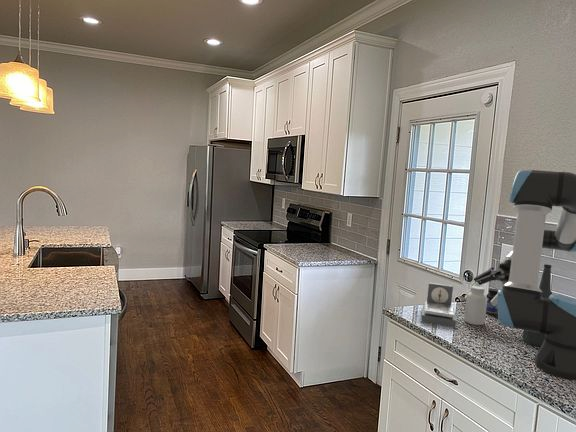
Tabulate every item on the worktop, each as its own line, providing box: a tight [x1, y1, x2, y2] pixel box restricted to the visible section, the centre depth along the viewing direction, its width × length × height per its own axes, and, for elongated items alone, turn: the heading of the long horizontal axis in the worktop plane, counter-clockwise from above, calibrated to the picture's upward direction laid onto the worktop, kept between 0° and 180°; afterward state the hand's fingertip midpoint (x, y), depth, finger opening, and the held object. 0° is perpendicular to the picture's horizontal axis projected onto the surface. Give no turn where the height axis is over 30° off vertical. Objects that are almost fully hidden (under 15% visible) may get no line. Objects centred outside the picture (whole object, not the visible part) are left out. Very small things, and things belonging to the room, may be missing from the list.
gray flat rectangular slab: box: [424, 301, 454, 318], centre depth 184 cm, size 14×11×1 cm
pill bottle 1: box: [463, 285, 487, 326], centre depth 183 cm, size 8×8×15 cm
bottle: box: [522, 264, 553, 348], centre depth 163 cm, size 10×10×30 cm
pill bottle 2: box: [485, 288, 499, 316], centre depth 198 cm, size 6×6×11 cm
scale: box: [421, 281, 457, 329], centre depth 185 cm, size 18×13×13 cm
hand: (480, 299), depth 184 cm, fingers open, 13 cm apart
